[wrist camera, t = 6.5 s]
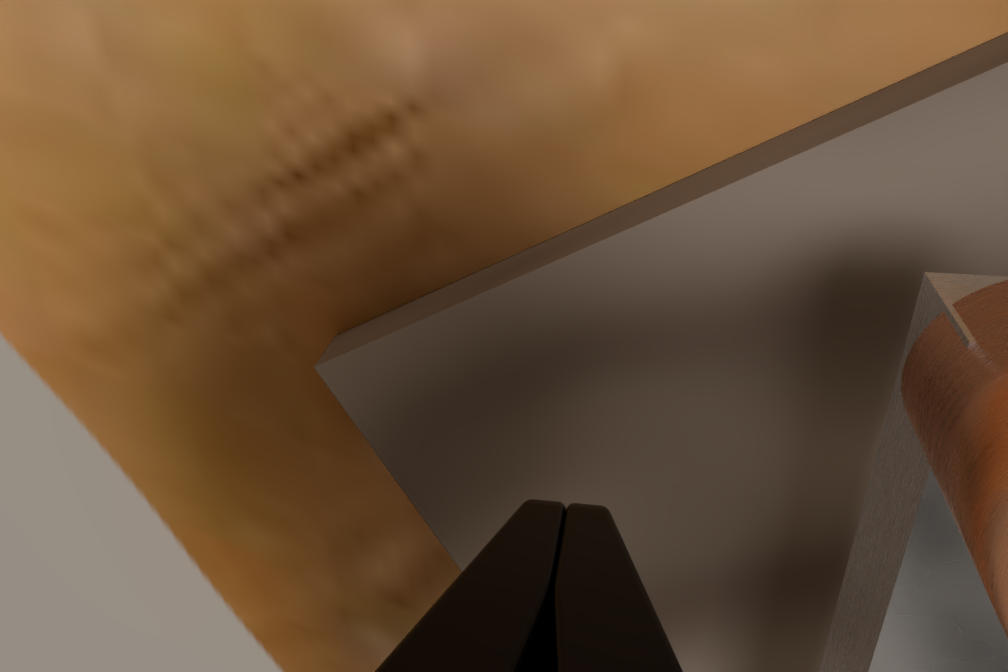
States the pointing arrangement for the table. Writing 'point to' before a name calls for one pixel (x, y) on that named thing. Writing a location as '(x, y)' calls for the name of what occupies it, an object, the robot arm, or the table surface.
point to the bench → (702, 361)
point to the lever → (936, 498)
